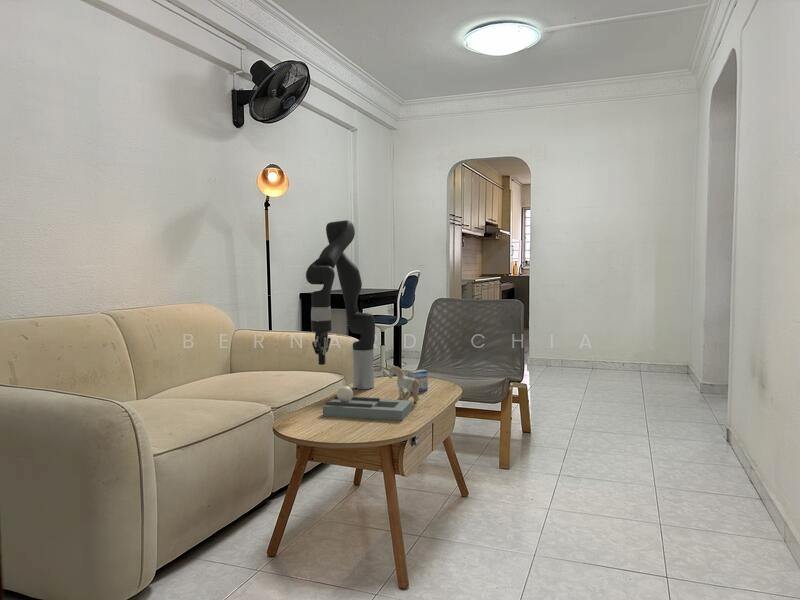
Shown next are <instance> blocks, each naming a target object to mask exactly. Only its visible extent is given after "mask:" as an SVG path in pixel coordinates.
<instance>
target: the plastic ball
mask: <svg viewBox="0 0 800 600" xmlns="http://www.w3.org/2000/svg"><path fill="white" fill-rule="evenodd" d="M336 396H337V397H338V399H339V400H340V401H341V402H349V401H350V400H351V399H352V397H354V391H353V389H352V388H351V387H350V386H348V385H347V386H346V385H345V386H341V387H339V389H338V390H337V392H336Z"/></svg>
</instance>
